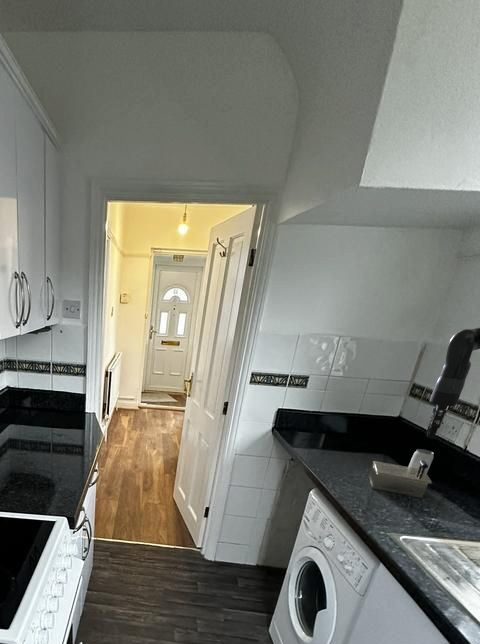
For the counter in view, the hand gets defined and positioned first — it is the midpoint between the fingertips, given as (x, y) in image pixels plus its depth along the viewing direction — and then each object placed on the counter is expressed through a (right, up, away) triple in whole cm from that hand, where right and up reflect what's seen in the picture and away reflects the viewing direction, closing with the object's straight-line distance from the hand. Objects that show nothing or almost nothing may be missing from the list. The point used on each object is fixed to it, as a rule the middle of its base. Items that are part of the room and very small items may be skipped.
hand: (429, 435), depth 149 cm
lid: (-4, -13, +9) cm, 17 cm away
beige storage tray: (-5, -19, +12) cm, 23 cm away
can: (+10, -16, +21) cm, 28 cm away
